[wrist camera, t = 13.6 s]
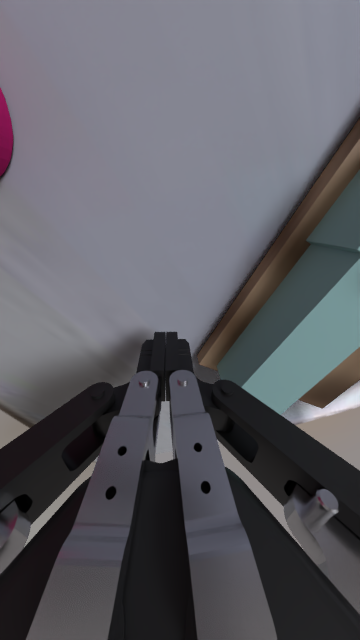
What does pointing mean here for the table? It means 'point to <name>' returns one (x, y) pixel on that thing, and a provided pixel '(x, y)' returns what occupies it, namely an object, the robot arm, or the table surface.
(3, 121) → the pepper mill
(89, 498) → the robot arm
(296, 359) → the teal bar with hole
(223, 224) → the table surface
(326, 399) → the board
